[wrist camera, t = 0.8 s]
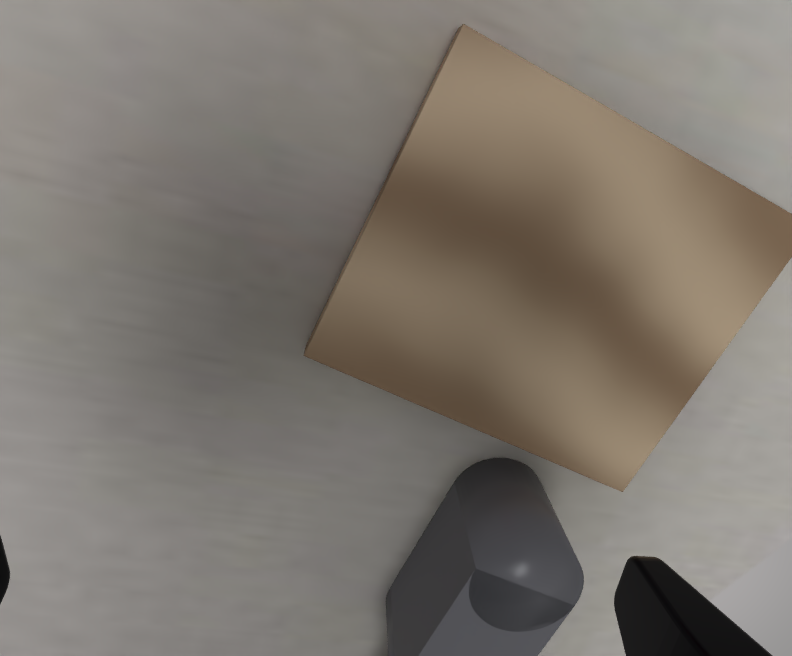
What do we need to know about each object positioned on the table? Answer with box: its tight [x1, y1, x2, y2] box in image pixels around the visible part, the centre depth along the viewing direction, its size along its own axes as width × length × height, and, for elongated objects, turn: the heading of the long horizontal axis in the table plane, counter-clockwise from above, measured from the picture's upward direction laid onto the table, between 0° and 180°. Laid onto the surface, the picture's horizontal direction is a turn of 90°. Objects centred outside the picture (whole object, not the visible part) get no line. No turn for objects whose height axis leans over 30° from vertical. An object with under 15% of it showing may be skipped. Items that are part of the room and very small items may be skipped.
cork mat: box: [304, 24, 792, 492], centre depth 22 cm, size 12×14×1 cm
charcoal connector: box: [386, 458, 584, 656], centre depth 24 cm, size 12×4×5 cm, turn 153°
